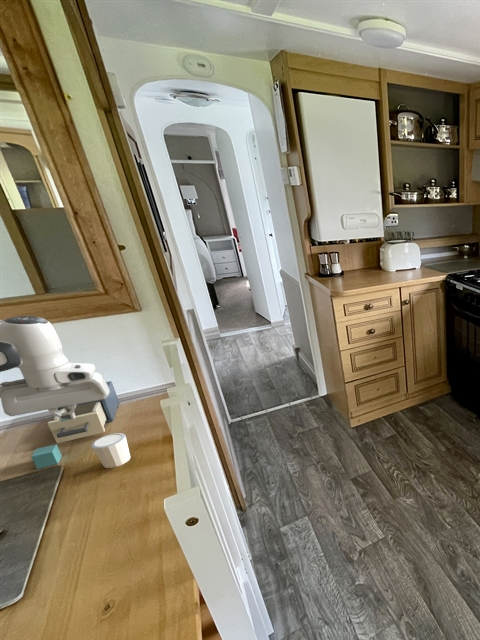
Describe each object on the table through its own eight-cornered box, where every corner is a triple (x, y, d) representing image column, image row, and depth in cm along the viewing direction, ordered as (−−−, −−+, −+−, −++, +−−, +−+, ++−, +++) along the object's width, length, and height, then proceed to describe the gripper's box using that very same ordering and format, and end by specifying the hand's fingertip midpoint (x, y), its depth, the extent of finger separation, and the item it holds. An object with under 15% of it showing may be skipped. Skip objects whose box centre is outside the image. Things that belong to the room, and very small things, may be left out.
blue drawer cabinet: (113, 421, 121) (103, 397, 117) (63, 432, 115) (51, 407, 111) (119, 402, 131) (111, 381, 128) (74, 412, 125) (64, 389, 122)
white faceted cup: (133, 450, 107) (125, 429, 105) (133, 462, 102) (125, 441, 100) (100, 460, 103) (91, 438, 101) (99, 473, 98) (89, 451, 96)
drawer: (101, 440, 110) (93, 420, 107) (51, 452, 104) (41, 431, 102) (111, 413, 123) (104, 395, 121) (68, 423, 118) (59, 404, 115)
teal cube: (37, 469, 99) (30, 456, 98) (41, 460, 102) (35, 448, 101) (58, 463, 101) (52, 451, 100) (62, 455, 104) (56, 444, 103)
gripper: (-14, 389, 93) (9, 436, 98) (97, 371, 104) (113, 414, 109) (-4, 379, 98) (18, 424, 103) (101, 363, 109) (116, 405, 114)
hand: (68, 419), depth 106 cm, fingers closed
